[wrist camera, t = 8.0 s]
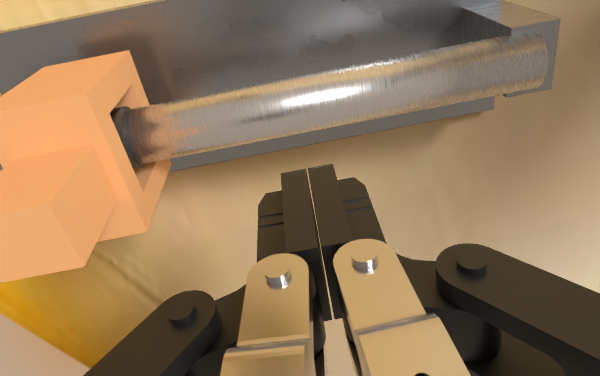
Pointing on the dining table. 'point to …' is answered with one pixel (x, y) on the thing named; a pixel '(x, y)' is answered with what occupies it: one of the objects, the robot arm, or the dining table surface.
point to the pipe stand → (293, 68)
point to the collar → (70, 166)
